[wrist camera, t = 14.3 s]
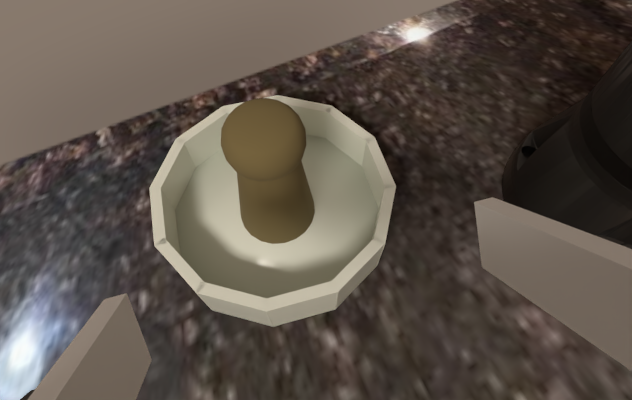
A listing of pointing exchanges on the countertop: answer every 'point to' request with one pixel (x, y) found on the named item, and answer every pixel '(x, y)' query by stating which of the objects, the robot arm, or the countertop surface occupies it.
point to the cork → (269, 169)
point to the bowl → (265, 258)
